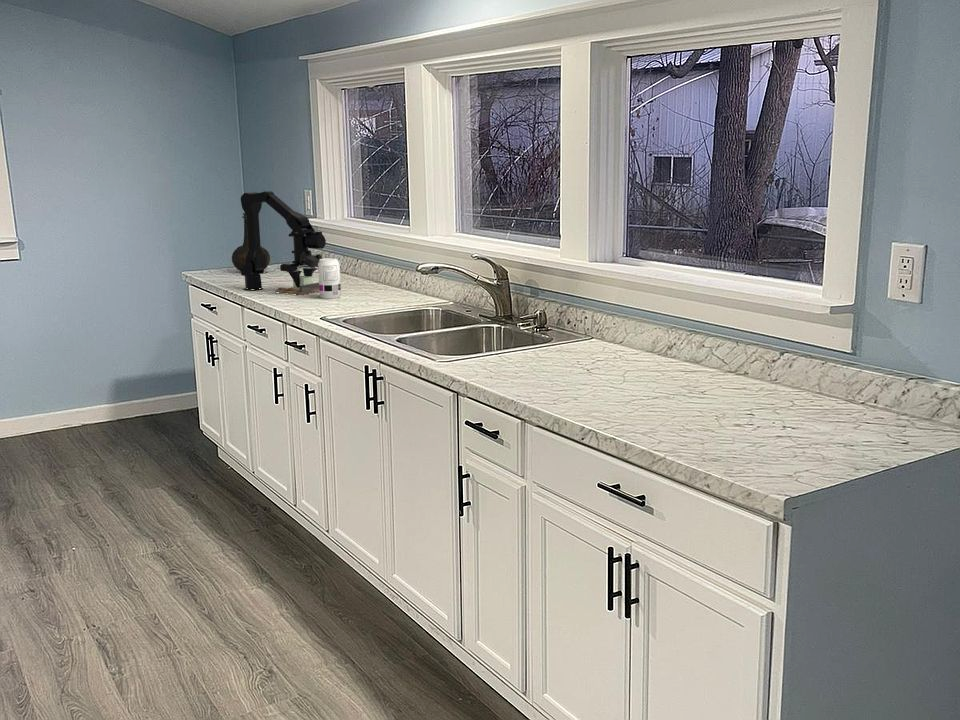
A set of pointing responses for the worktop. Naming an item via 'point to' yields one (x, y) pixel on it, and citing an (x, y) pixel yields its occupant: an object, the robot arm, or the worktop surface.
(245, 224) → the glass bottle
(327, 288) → the supplement can
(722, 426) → the worktop surface
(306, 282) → the block
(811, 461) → the worktop surface
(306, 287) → the channel board
